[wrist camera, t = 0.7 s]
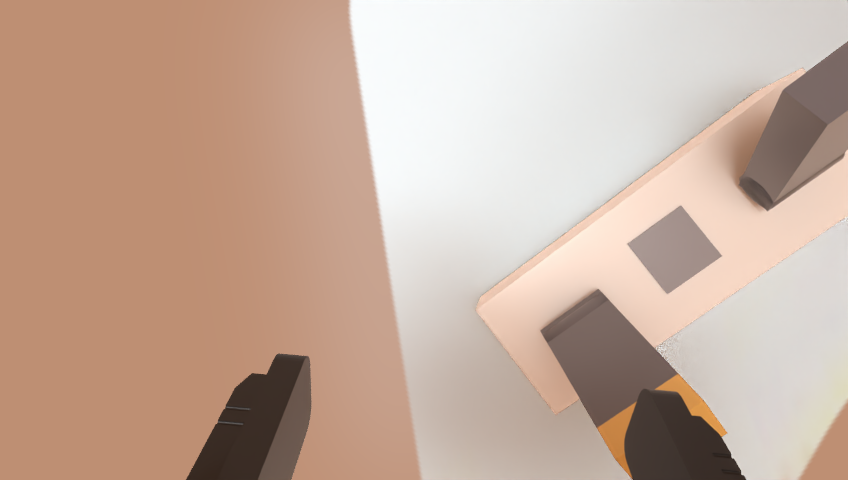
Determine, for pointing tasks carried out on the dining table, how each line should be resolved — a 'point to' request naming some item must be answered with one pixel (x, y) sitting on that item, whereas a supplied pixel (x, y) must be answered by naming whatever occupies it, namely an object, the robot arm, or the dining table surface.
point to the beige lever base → (664, 245)
